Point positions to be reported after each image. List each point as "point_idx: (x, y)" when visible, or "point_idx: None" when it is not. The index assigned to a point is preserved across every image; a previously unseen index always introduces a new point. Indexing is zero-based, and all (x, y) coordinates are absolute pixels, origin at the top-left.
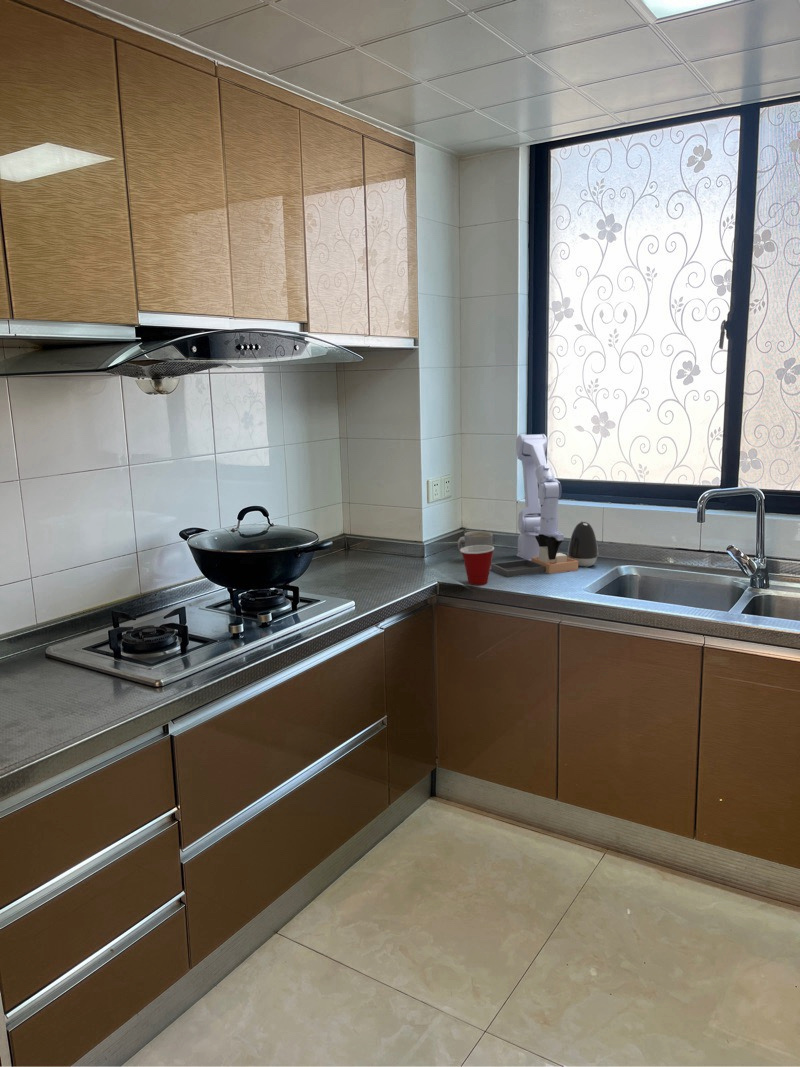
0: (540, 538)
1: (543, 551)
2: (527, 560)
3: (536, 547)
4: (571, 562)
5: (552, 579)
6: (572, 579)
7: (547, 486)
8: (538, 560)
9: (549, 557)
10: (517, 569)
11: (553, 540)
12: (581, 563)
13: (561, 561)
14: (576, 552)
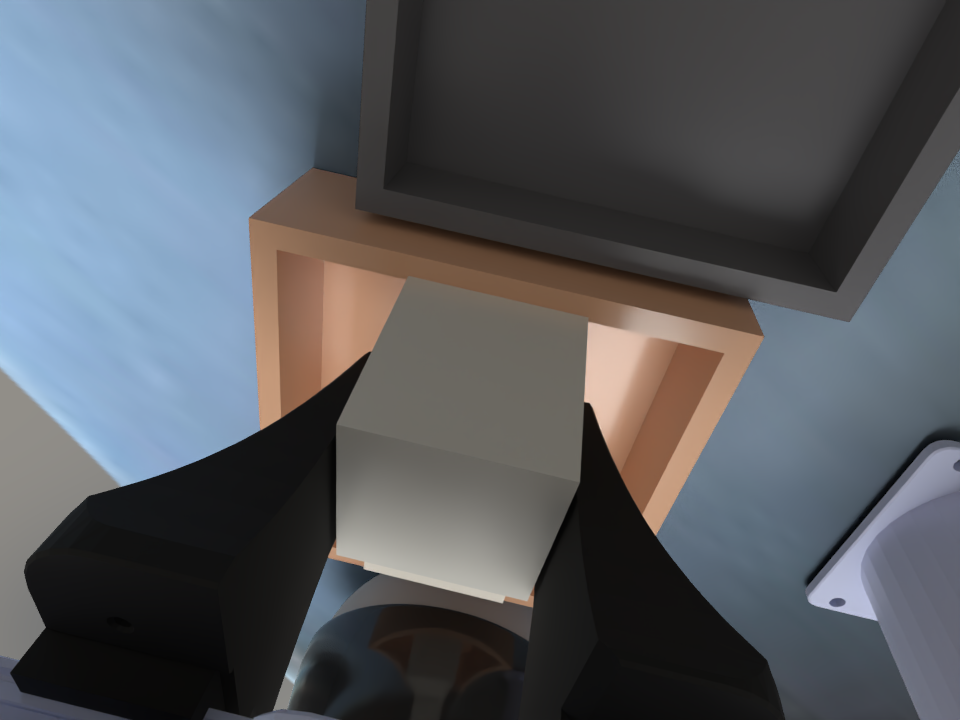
0: (578, 657)
1: (443, 396)
2: (815, 285)
3: (957, 652)
4: None
5: (132, 54)
6: (75, 240)
7: None
8: (556, 288)
9: (357, 362)
10: None
11: (46, 601)
12: (374, 580)
13: None
14: (364, 661)
